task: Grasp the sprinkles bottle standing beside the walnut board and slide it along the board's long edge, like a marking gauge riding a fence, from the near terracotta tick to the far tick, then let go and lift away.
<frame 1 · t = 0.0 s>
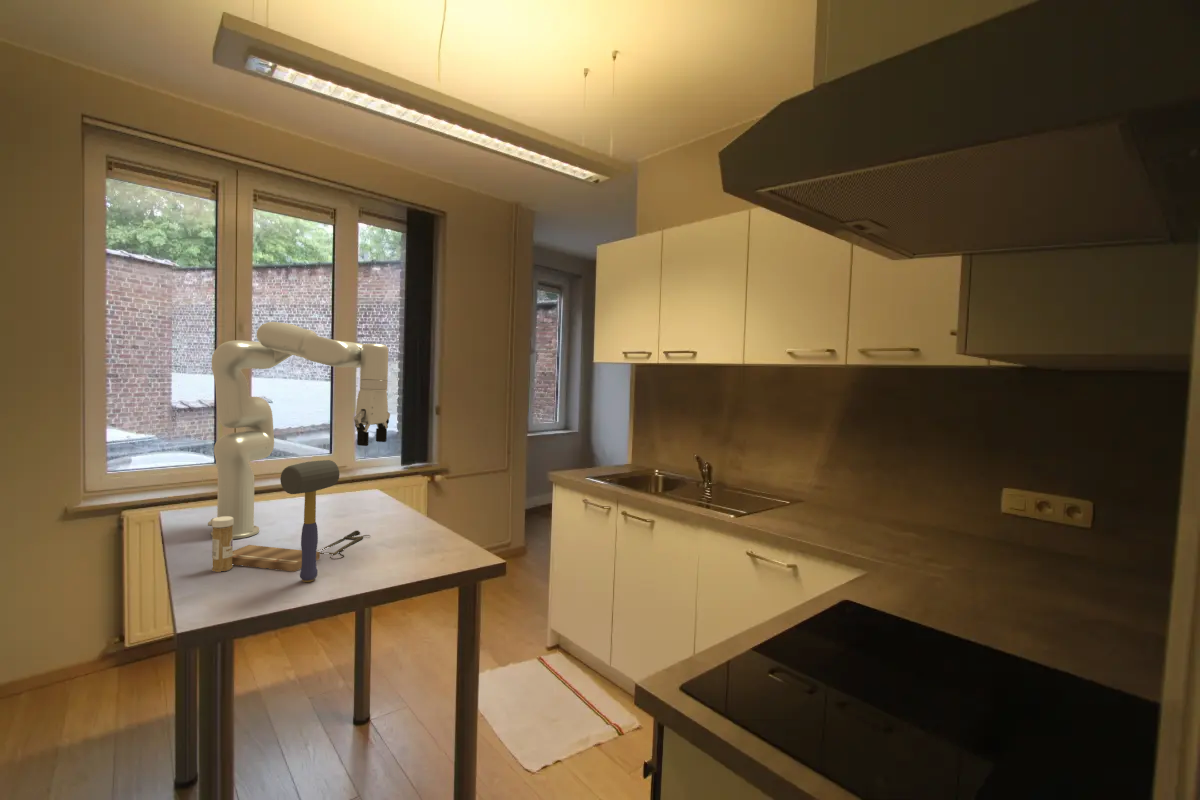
hand: (372, 443, 164), 31 cm above the table, tool pointing down, fingers open, 9 cm apart
hacksaw: (347, 547, 167), on the table
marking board: (270, 561, 151), on the table
sprinkles bottle: (222, 570, 143), on the table
rubber mallet: (308, 581, 139), on the table
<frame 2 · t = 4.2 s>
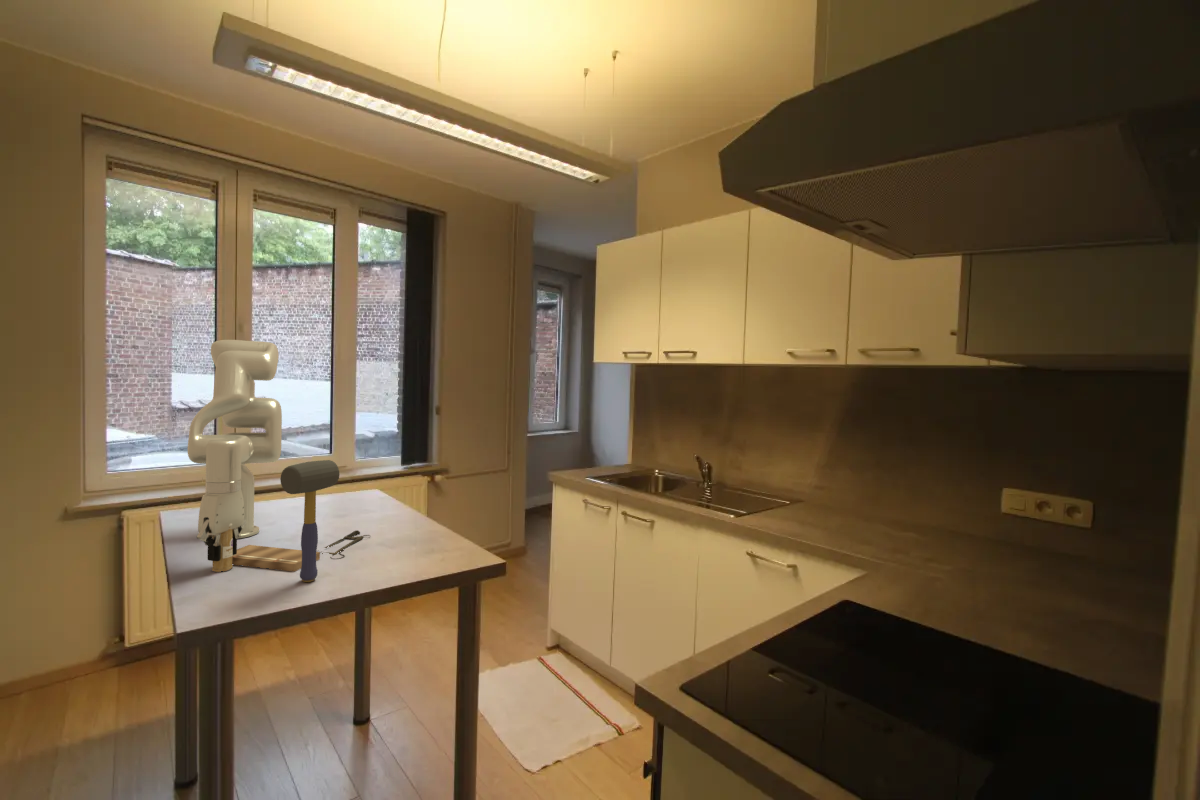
hand: (222, 556, 143), 3 cm above the table, tool pointing down, fingers closed on sprinkles bottle, 4 cm apart
sprinkles bottle: (222, 570, 143), on the table, touching gripper
everything else where it was.
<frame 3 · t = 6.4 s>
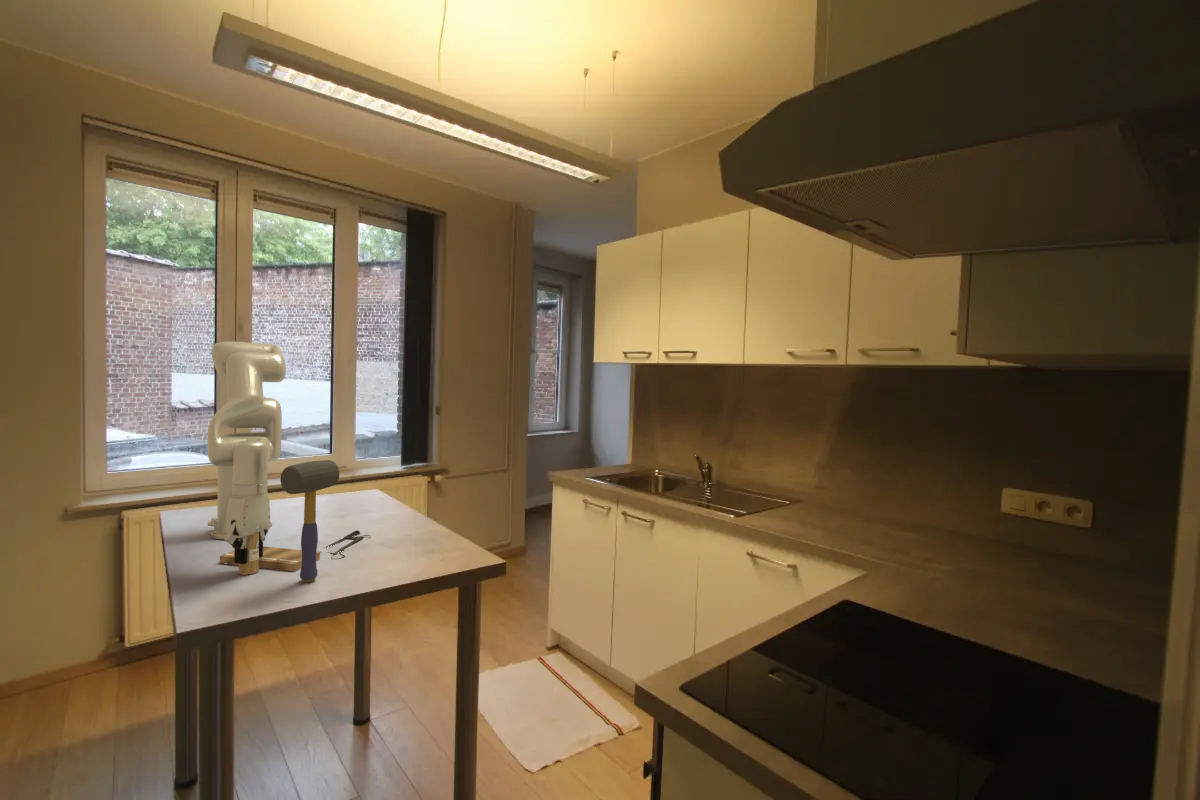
hand: (248, 559, 142), 3 cm above the table, tool pointing down, fingers closed on sprinkles bottle, 4 cm apart
sprinkles bottle: (248, 572, 142), on the table, touching gripper
everything else where it was.
when the fingers open (3 cm above the table, at t = 8.5 s): sprinkles bottle stays where it is, on the table.
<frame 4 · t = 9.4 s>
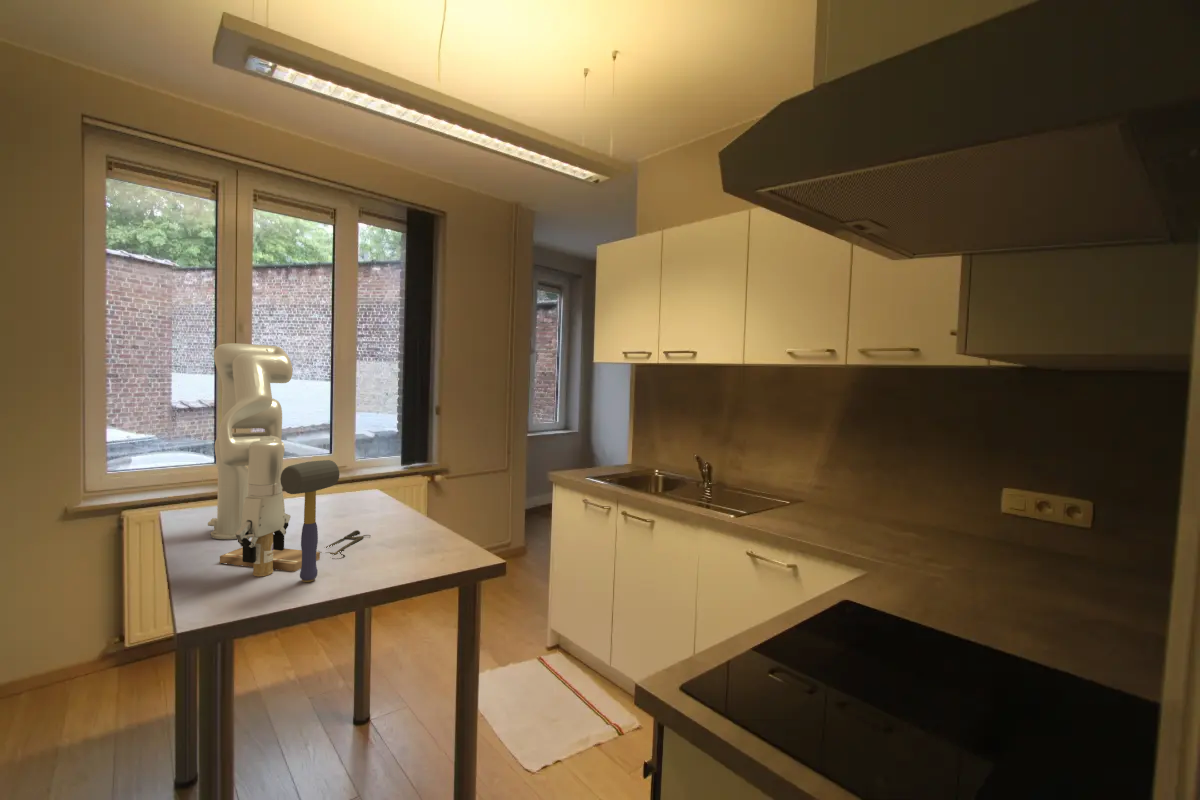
hand: (263, 555, 142), 5 cm above the table, tool pointing down, fingers open, 9 cm apart
sprinkles bottle: (262, 574, 142), on the table
everything else where it was.
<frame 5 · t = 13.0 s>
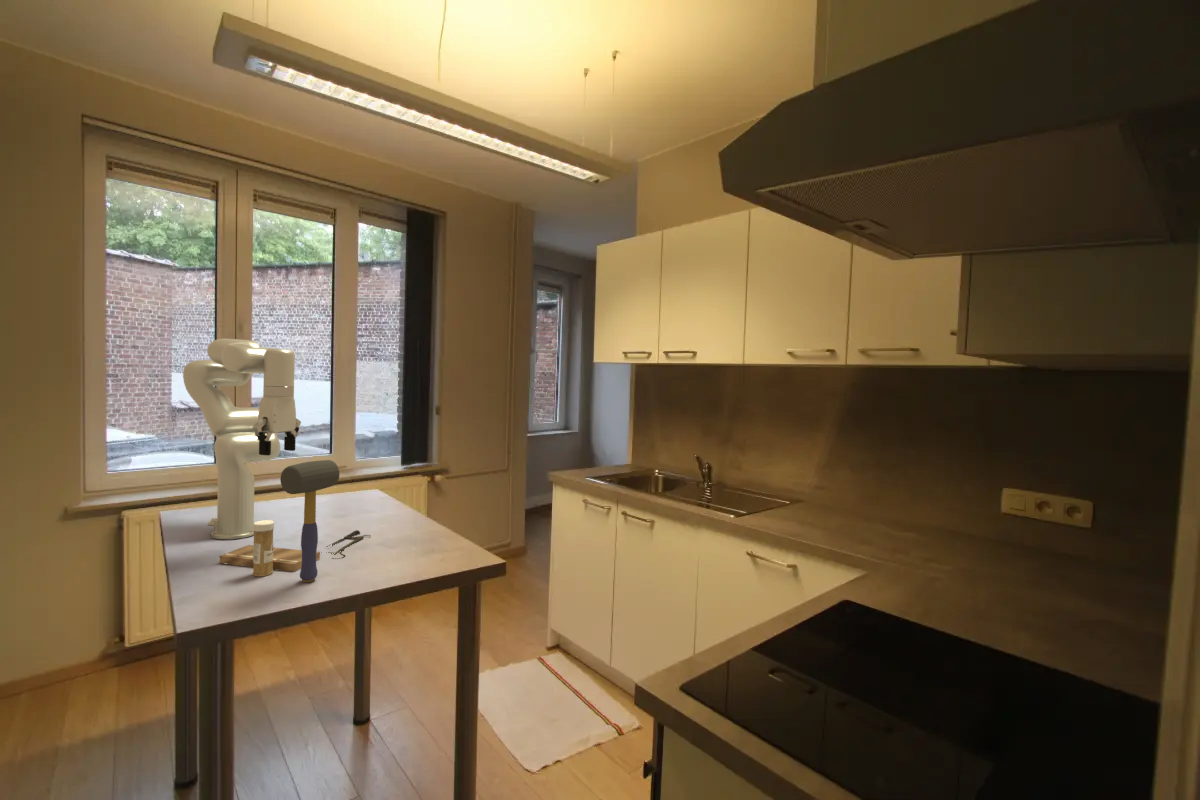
hand: (277, 452, 158), 28 cm above the table, tool pointing down, fingers open, 9 cm apart
nothing on the table moved.
at the end: sprinkles bottle 0.6 cm from the target spot, on the table; sprinkles bottle tilted 0°; the gripper is holding nothing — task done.
